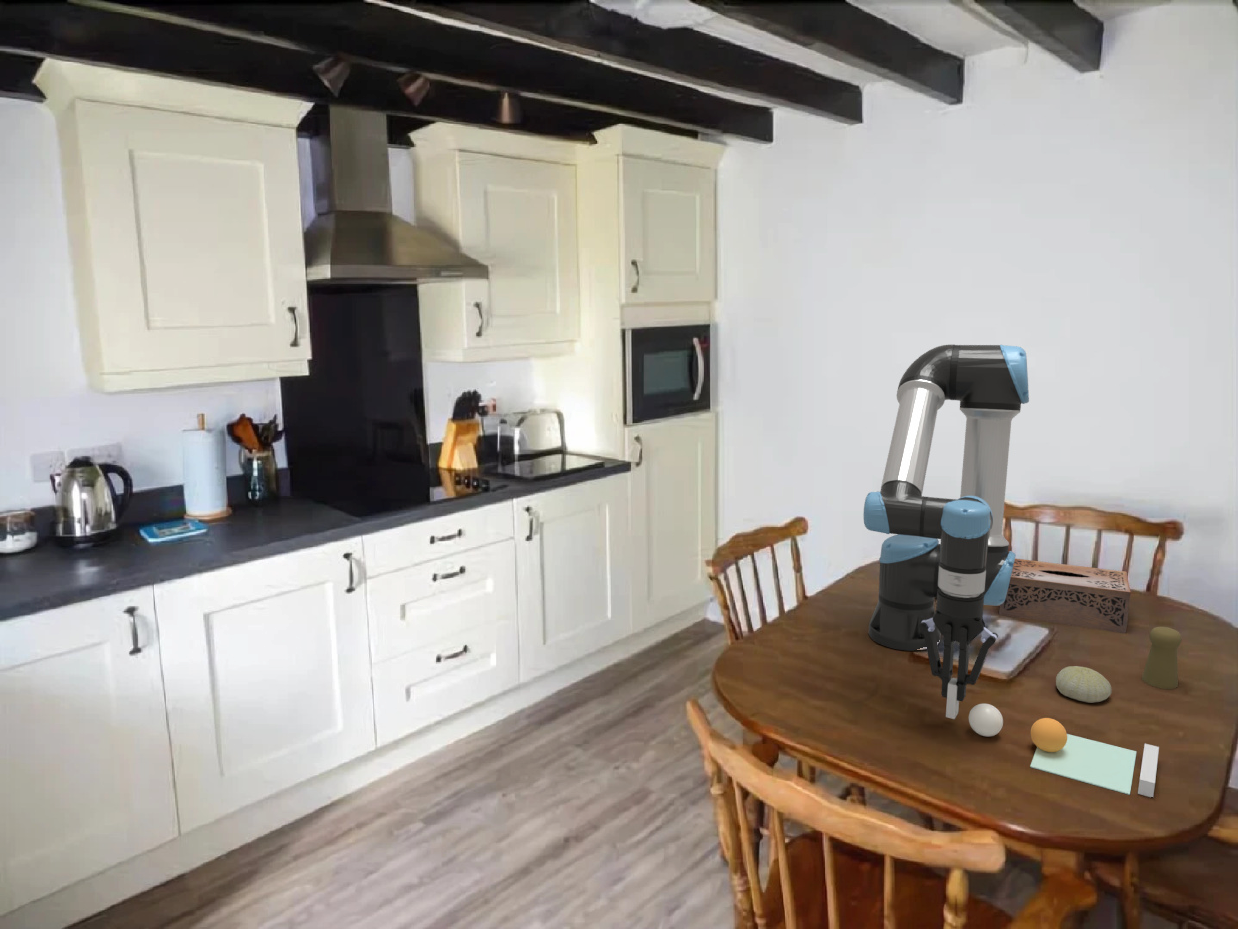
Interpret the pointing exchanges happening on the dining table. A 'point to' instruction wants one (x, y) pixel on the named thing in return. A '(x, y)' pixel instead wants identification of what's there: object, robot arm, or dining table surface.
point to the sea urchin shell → (1083, 684)
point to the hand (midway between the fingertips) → (952, 714)
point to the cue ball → (985, 720)
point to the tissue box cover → (1068, 595)
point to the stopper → (1148, 770)
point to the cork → (1162, 658)
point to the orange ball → (1048, 735)
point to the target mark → (1090, 763)
